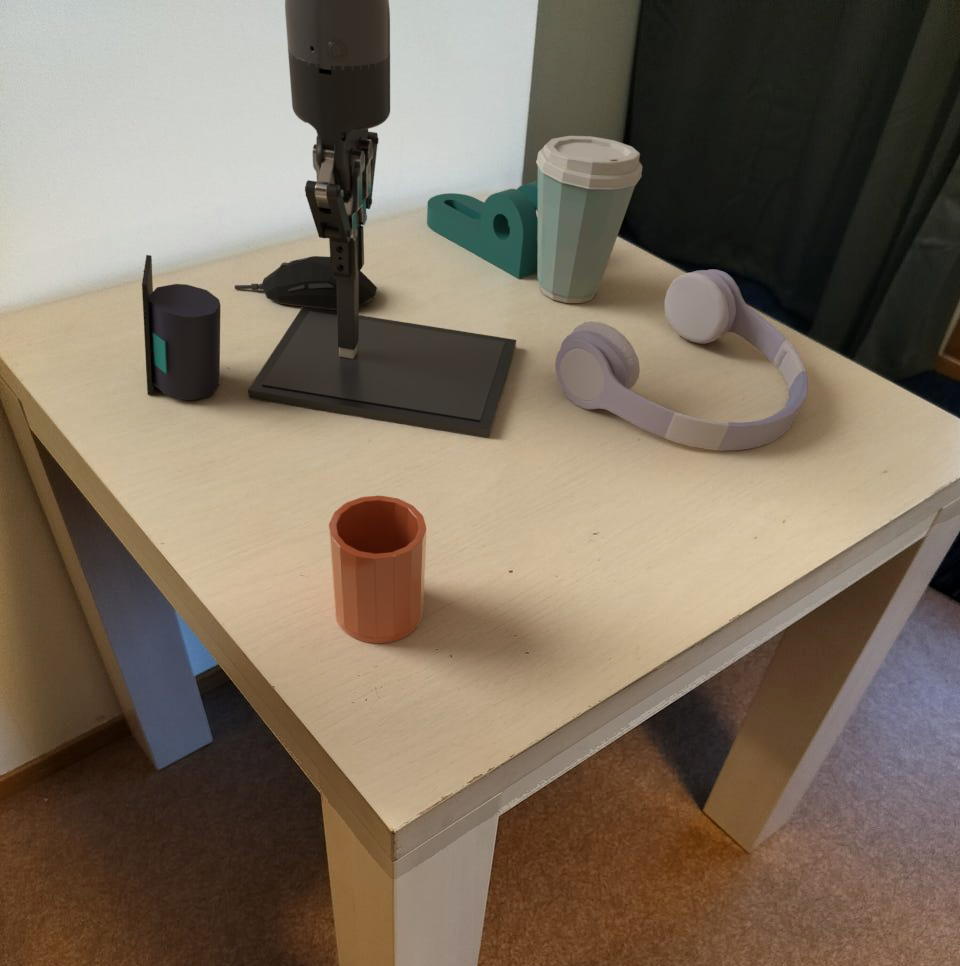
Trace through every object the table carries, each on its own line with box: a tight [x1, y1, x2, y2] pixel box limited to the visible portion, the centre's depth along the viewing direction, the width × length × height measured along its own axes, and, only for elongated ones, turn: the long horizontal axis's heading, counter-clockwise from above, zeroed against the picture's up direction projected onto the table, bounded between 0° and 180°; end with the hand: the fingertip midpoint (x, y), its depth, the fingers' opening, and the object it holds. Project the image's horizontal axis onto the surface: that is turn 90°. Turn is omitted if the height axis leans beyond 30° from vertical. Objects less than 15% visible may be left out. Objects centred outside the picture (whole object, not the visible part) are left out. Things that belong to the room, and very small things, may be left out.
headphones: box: [554, 269, 809, 451], centre depth 84 cm, size 22×7×20 cm
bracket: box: [426, 180, 538, 280], centre depth 103 cm, size 18×7×8 cm, turn 42°
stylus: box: [336, 213, 360, 359], centre depth 80 cm, size 2×2×13 cm
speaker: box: [141, 254, 221, 401], centre depth 78 cm, size 8×6×10 cm
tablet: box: [247, 306, 517, 439], centre depth 85 cm, size 22×16×1 cm
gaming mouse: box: [234, 255, 378, 311], centre depth 93 cm, size 6×15×4 cm, turn 88°
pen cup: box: [328, 495, 427, 644], centre depth 61 cm, size 6×6×8 cm
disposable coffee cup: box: [535, 135, 643, 304], centre depth 93 cm, size 11×11×15 cm
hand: (347, 272), depth 79 cm, fingers closed on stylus, 1 cm apart
